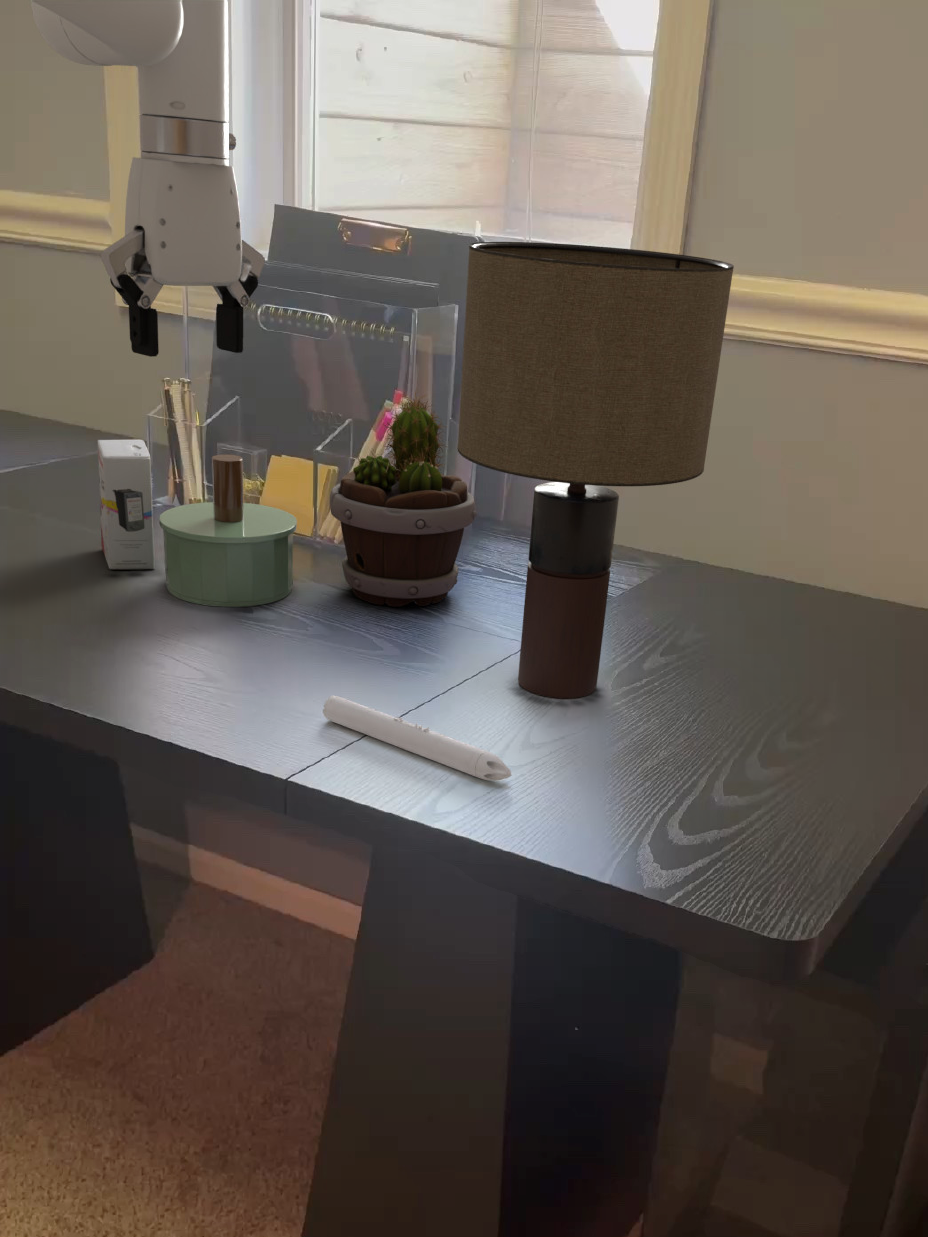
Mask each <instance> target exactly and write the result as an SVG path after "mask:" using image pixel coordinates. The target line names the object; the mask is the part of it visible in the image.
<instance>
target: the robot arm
mask: <svg viewBox="0 0 928 1237" xmlns="http://www.w3.org/2000/svg"><path fill="white" fill-rule="evenodd" d="M29 1H30V2H31V4H30V5H31V13H32V16H33V21H34V24H35V26H36V28H37V31H38V32H39V34H40V36H41V37H42V38H43V40H44V41H45V43H46V44H47V45H48V46H49V47H50V48H51V49H52V50H53V51H55V52H56V53H57V54H59V55H60V56H61V57H63V58H64V59H67V60H69V61H71V62H73V63H76V64H79V65H83V66H94V67H95V66H96V67H110V66H111V67H112V66H122V67H125V66H126V67H136V68H137V83H138V86H137V87H138V105H139V106H138V111H139V117H138V118H139V120H138V121H139V140H140V141H139V146H140V149H139V150H140V157H134V156H133V157H132V159H131V162H130V167H129V168H130V169H129V175H128V179H127V180H128V181H127V189H126V199H125V214H124V215H125V216H124V236H123V237H121V238H120V239H118V240H116V241H115V242H113V243H112V244H110V245H109V246H107V247H106V248H105V249H103V250H102V251H101V252H100V259H101V262H102V264H103V267H104V268H105V271H106V273H107V275H108V277H109V278H110V279H109V282H110V284H111V286H112V287H113V289H115V291H116V292H117V293H118V294H119V295H120V297H121V301H122V303H123V304H124V305H126V306H128V324H129V325H128V326H129V340H130V343H131V344H130V345H131V347H130V348H131V351H132V352H133V354H138V355H142V356H145V357H151V358H152V357H153V358H154V357H158V355H159V352H160V350H159V347H160V346H159V319H158V318H159V316H158V310H157V308H154V307H153V308H152V305H153V303H154V301H155V300H156V298H157V296H158V295H159V293H160V292H161V290H162V289H163V287H164V286H170V287H171V286H172V287H173V286H174V287H212V288H213V289H214V291H215V292H216V295H217V296H218V298H220V301H221V303H216V307H215V322H216V323H215V326H216V327H215V329H216V331H215V332H216V333H215V334H216V338H215V339H216V341H215V342H216V348H218V349H219V350H222V351H225V352H230V353H234V354H242V353H243V351H244V308H247V307H248V306H249V305H250V299H251V296H252V295H253V294H254V292H255V291H256V289H257V288H258V286H259V280H258V279H259V278H260V277H261V274H262V271H263V268H264V267H265V263H266V257H265V256H264V255H263V254H262V253H261V252H260V251H258V250H256V249H255V248H254V247H253V246H251V245H250V244H249V243H248V242H246V241H245V240H243V237H242V221H241V219H242V218H241V210H240V208H241V207H240V199H239V192H238V186H237V180H236V174H235V169H234V166H233V165H230V164H229V163H230V160H229V158H230V156H229V155H230V152H229V151H234V150H235V148H236V146H237V139H236V136H235V134H233V133H231V132H230V131H229V129H230V128H229V4H228V0H29ZM242 265H243V266H242Z"/></svg>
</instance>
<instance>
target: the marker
mask: <svg viewBox="0 0 928 1237" xmlns="http://www.w3.org/2000/svg"><path fill="white" fill-rule="evenodd" d="M322 714H323V717H324V718H325V719H326V720H329V721H330V722H331V723H335V724H338V725H340V726H343V727H345V728H348V729H350V730H353V731H355V732H359V733H361V734H363V735H366V736H368V737H371V738H374V739H377V740H379V741H382V742H384V743H387V744H390V745H392V746H395V747H397V748H400V749H403V750H405V751H408V752H410V753H413V754H416V755H418V756H421V757H423V758H426V759H429V760H432V761H434V762H436V763H439V764H442V765H444V766H446V767H448V768H449V767H450V768H452V769H455V770H457V771H460V772H462V773H465V774H468V775H470V776H472V777H474V778H475V777H476V778H478V779H481V780H485V781H490V782H491V781H493V782H494V781H496V782H497V781H501V780H505V779H508V778H510V777H512V776H513V775H512V772H511V769H510V768H509V767H508V766H507V765H506V764H505V762H504V761H503V760H502V759H501V758H500V757H499V756H498V755H496V754H495V753H493V752H490V751H487V750H485V749H484V748H483V749H482V748H479V747H476V746H474V745H471V744H468V743H466V742H463V741H460V740H459V739H455V738H452V737H450V736H448V735H445V734H442V733H439V732H436V731H434V730H430V728H429V727H426V728H425V727H423V725H421V724H419V725H418V724H416V723H415V724H414V723H411V722H410V721H407V720H404V719H403V717H398V716H397V717H396V716H393V715H391V714H387V713H385V712H382V711H379V710H377V709H375V708H372V707H369V706H366V705H363V704H360V703H358V702H355V701H353V700H349V699H347V698H344V697H342V696H338V695H330V696H329V697H328V698H327V699H326V700H325V702H324V704H323V709H322Z"/></svg>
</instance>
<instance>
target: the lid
mask: <svg viewBox="0 0 928 1237" xmlns="http://www.w3.org/2000/svg"><path fill="white" fill-rule="evenodd" d="M211 477H212V478H211V479H212V501H209V502H206V501H205V502H196V503H188V504H183V505H178V506H174V507H172V508H168V509H167V510H164V511H163V512H162V513H161V514H160V515H159V518H158V521H159V522H158V523H159V527H160V528H161V529H162V530H164V531H166V532H168V533H170V534H173V535H175V536H179V537H182V538H186V539H191V540H197V541H203V542H213V543H254V542H264V541H270V540H275V539H279V538H283V537H286V536H288V535H290V534H292V533H293V534H294V533H295V532H296V531H297V529H298V519H297V518H296V516H295V515H293V514H292V513H290V512H287V511H286V510H283V509H280V508H277V507H273V506H268V505H265V504H257V503H250V502H249V503H248V502H245V500H244V499H245V498H244V496H245V495H244V494H245V493H244V459H243V457H242V456H240V455H236V454H217V455H213V456H212V457H211Z"/></svg>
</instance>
